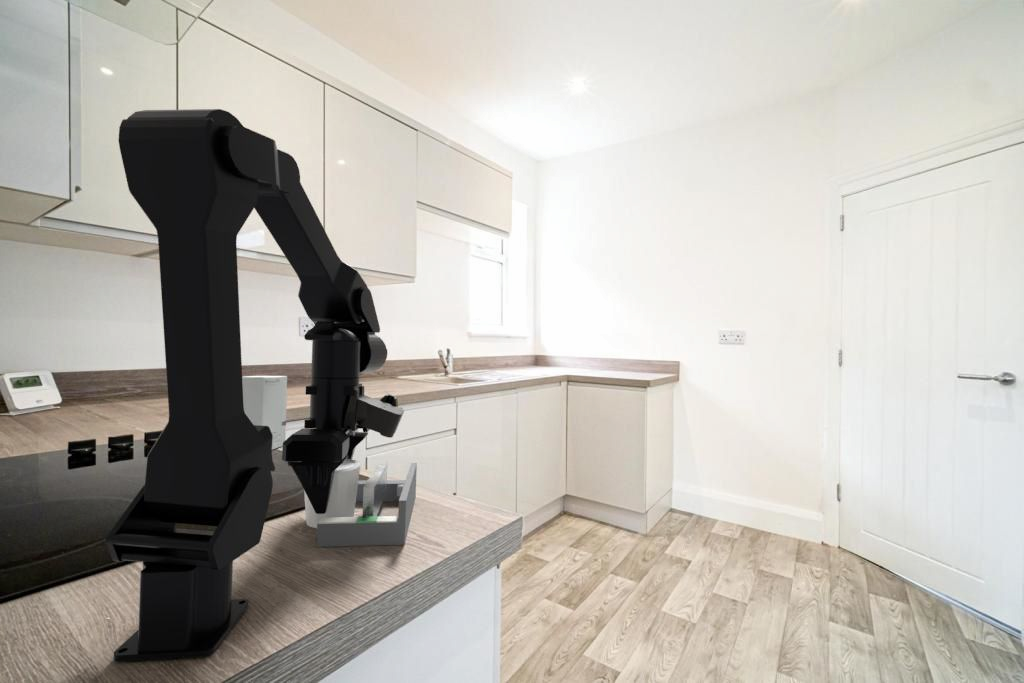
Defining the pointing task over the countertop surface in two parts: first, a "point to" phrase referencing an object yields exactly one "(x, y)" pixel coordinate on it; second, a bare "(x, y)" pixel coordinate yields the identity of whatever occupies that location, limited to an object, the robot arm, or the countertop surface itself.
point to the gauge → (373, 519)
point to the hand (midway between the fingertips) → (331, 499)
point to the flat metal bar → (375, 490)
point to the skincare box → (267, 404)
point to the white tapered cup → (338, 494)
